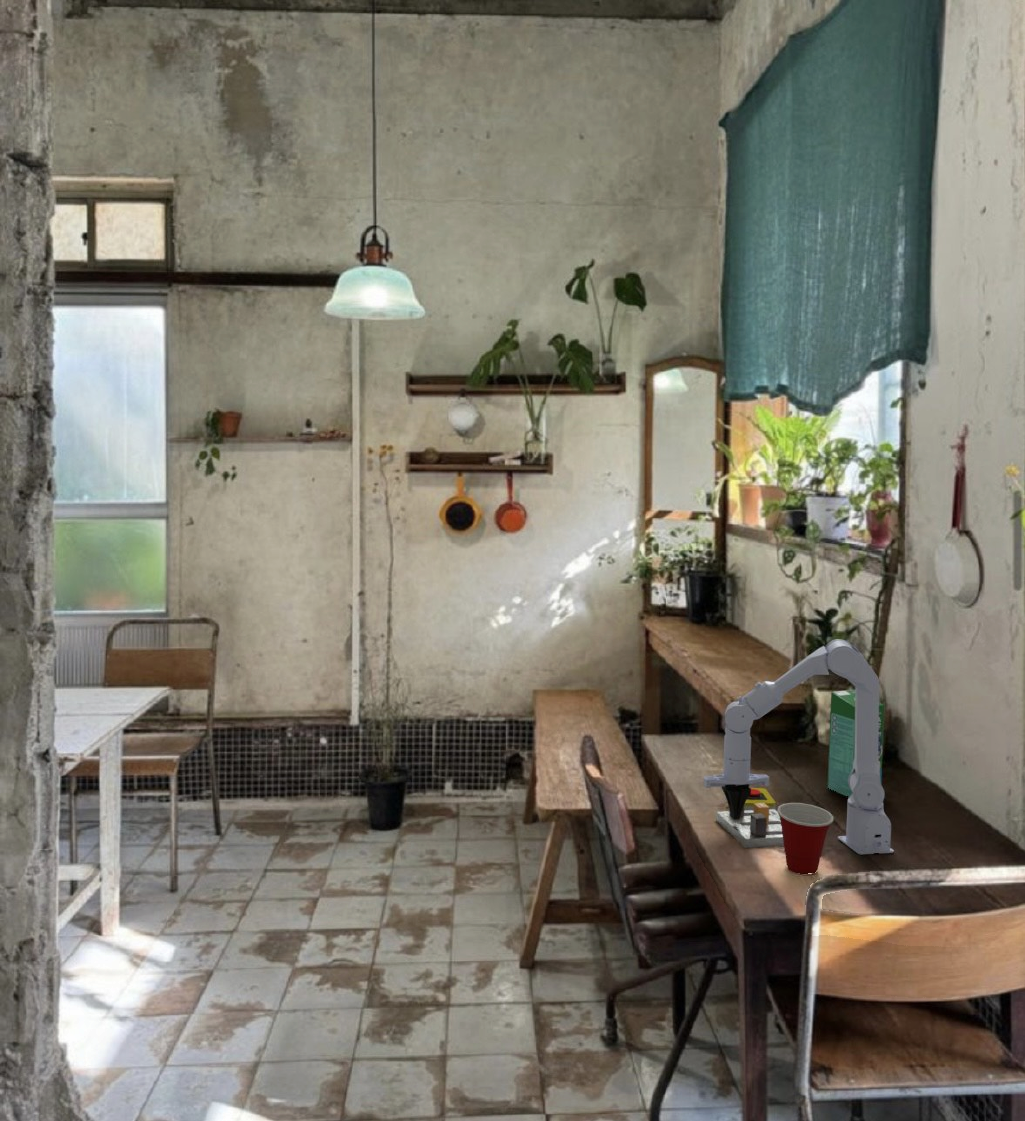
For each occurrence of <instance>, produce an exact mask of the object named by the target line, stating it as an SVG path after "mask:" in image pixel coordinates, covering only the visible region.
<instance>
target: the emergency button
mask: <svg viewBox="0 0 1025 1121" xmlns="http://www.w3.org/2000/svg"><path fill="white" fill-rule="evenodd" d="M750 788H751V794H750V795H749V797H748V798H747V800H746V802H745V804H744V811H745V810H754V803H765V804H766V805H767V806H768V807H769V809H775V810H776V806H777V804H776V801H775V799H774V798H773V797H772V796H771V794H770V793H769V792H768V790H767V789H766V788H762V787H750ZM776 811H777V810H776Z"/></svg>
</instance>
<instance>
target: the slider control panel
mask: <svg viewBox="0 0 1025 1121" xmlns="http://www.w3.org/2000/svg"><path fill="white" fill-rule="evenodd" d="M716 822H717V823H719V825H720V826H722V827H723V828H724V829H725V830H726V831H727V830H728V831H729V832H730V833H731V834H730V833H729V832H728V831H727V832H728V833H729V834H730V835H733V836H734V837H735V838H736V839H737V840H738V841H737V840H736V839H735V838H734V837H733V836H732V837H733V838H734V839H735V840H736V841H737V842H738V843H740V844H741V845H742V846H743V847H744V848H745V849H757V848H773V847H774V848H775V846H778V847H784V843H783V834H782V826H781V821H780V816H779V814H778V811H777V810H775V809H769V824H766V823H767V818H766V817H765V816H764V815H762V814H753V810H745V811H744V806H743V809H742V812H741V815H740V819H735V820H734V819H733V818H731V817H730V810H729V809H728V810H727V811H726V810H724V811H716Z"/></svg>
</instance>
